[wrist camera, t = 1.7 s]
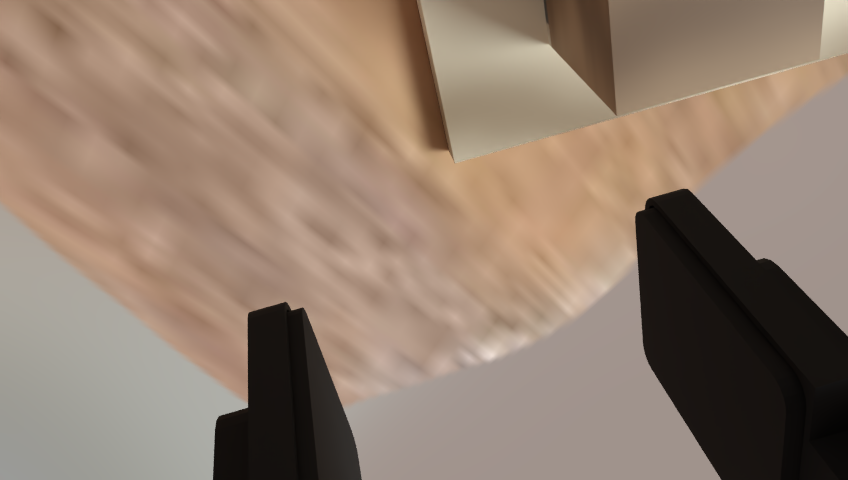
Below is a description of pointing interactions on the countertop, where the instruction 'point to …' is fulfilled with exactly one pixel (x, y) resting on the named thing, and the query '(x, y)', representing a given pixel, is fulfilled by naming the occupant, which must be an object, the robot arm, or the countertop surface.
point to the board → (527, 73)
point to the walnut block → (679, 44)
